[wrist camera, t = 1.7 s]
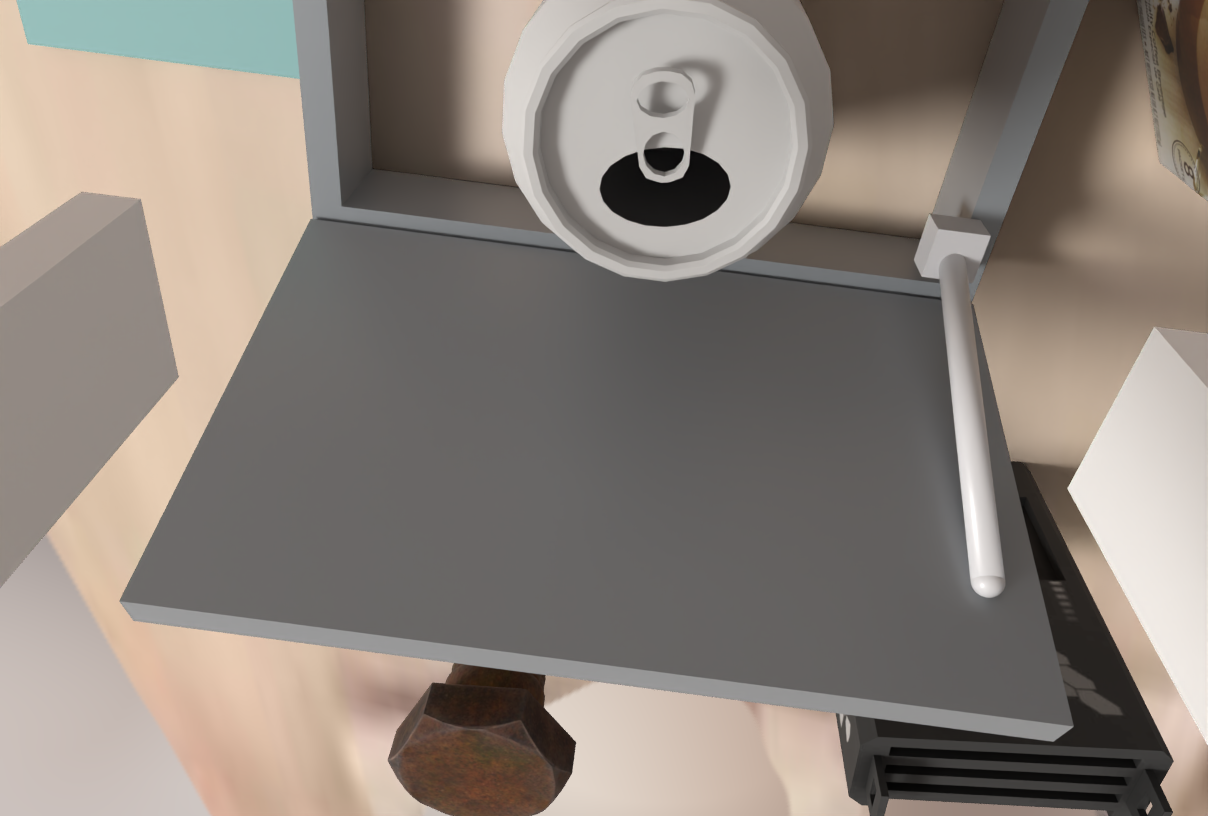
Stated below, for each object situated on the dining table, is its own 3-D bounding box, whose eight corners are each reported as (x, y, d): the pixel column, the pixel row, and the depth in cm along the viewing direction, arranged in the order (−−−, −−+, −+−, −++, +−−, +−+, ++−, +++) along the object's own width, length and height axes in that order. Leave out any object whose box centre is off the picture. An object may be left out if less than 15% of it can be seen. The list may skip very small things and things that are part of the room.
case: (1106, -191, 24) (1675, -161, 10) (908, 362, 35) (1056, 751, 21) (313, -291, 24) (-192, -396, 10) (353, 290, 35) (128, 629, 21)
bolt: (521, 400, 37) (439, 699, 25) (624, 452, 38) (594, 762, 26) (464, 488, 40) (366, 793, 28) (561, 534, 42) (508, 846, 29)
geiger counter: (781, 534, 41) (820, 858, 28) (790, 456, 38) (837, 775, 26) (1017, 542, 40) (1164, 879, 27) (1043, 462, 37) (1218, 796, 25)
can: (565, 145, 31) (508, 312, 21) (546, -101, 27) (463, -35, 17) (782, 140, 30) (827, 310, 20) (799, -114, 26) (866, -53, 16)
